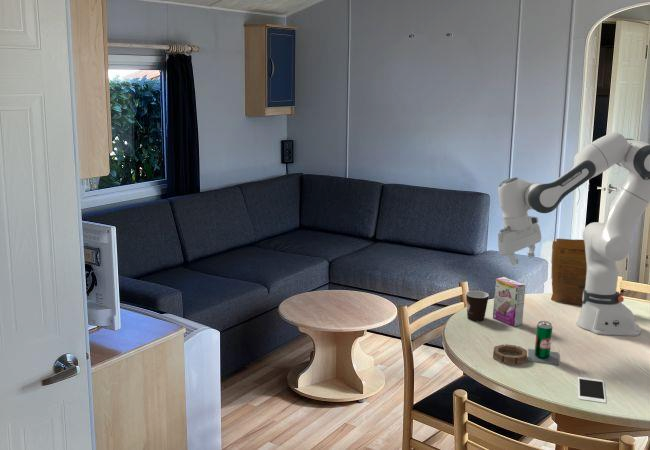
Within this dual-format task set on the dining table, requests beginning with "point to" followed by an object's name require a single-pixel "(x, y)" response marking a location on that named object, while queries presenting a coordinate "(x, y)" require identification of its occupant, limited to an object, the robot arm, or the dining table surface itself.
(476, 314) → the coffee mug
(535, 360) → the coaster
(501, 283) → the candy bar box
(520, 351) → the walnut ring
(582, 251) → the pancake mix bag
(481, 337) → the dining table surface
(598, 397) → the cell phone
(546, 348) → the soda can
